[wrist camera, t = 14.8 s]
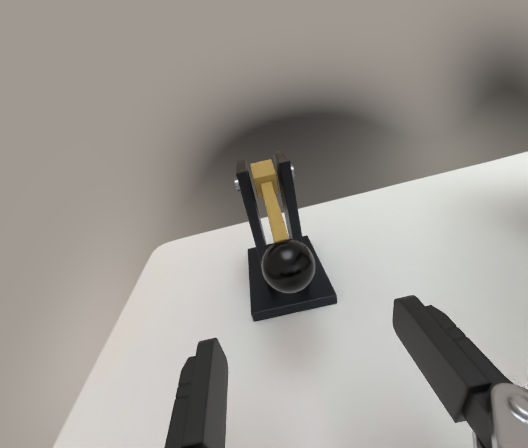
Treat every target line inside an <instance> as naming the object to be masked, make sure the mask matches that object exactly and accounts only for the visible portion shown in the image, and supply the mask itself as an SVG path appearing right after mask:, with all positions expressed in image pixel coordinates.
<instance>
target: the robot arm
mask: <svg viewBox="0 0 528 448" xmlns="http://www.w3.org/2000/svg"><path fill="white" fill-rule="evenodd" d="M393 326H394V329H395V332H396V334H397V336H398V337H399V339H400V340H401V342H402V343H403V345H404V346H405V348H406V349H407V351H408V352H409V354H410V355H411V357H412V358H413V360H414V361H415V363H416V364H417V366H418V367H419V369H420V370H421V372H422V373H423V375H424V376H425V378H426V379H427V381H428V383H429V384H430V386H431V387H432V389H433V390H434V392H435V393H436V395H437V396H438V398H439V399H440V401H441V402H442V404H443V405H444V407H445V408H446V410H447V411H448V413H449V414H450V416H451V417H452V419H453V420H454V422H455V423H457V422H462V421H467V422H468V424H469V425H470V427H471V428H472V430H473V447H474V448H528V390H527V389H525V388H523V387H520V386H518V385H515V384H513V383H512V382H511V381H509V380H508V379H507V378H506V377H505V376H504V375H503V374H502V373H501V372H500V371H499V370H498V369H497V368H496V367H495V366H494V365H493V363H492V362H491V361H490V360H489V359H488V358H487V357H486V356H485V355H484V354H483V353H482V352H481V351H480V350H479V349H478V348H477V347H476V346H475V345H474V344H473V342H472V341H471V340H470V339H469V338H467V337H466V336H465V334H464V333H463V332H462V331H461V330H460V329H459V328H457V327H456V325H455V324H454V323H453V321H452V320H451V319H450V318H449V317H448V316H447V315H446V314H445V313H443V312H441V311H440V310H438V309H437V308H435V307H433V306H432V305H429V306H424V305H423V304H422V303H421V301H420V300H419V299H418V298H417V297H416V296H414V295H411V296H406V297H402V298H397V299H395V300H394V309H393ZM178 385H179V387H178V388H177V393H176V400H175V402H174V407H173V411H172V416H171V421H170V425H169V430H168V435H167V439H166V444H165V448H225V434H226V410H227V387H228V363H227V359H226V356H225V354H224V352H223V350H222V348H221V345H220V343H219V341H218V339H217V338H212V339H208V340H203V341H200V342H199V343H198V346H197V352H196V356H193V357H189V358H188V359H187V361H186V363H185V365H184V367H183V368H182V370H181V374H180V379H179V384H178Z"/></svg>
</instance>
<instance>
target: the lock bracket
mask: <svg viewBox="0 0 528 448" xmlns="http://www.w3.org/2000/svg"><path fill="white" fill-rule="evenodd" d="M273 155H274V160H275V165H276V171H277V176H278V181H279V187H280V191H281V197H282V202H283V208H284V213H285V218H286V223H287V229H288V234H289V239H293V240H297V241H299V242H301V243H303V244H304V245H305V246H306V247H308V249H309V250H310V251H311V253H312V255H313V257H314V260H315V273H314V276H313V278H312V280H311V282H310V283H309V284H308V285H307V286H306V287H305V288H304V289H302V290H301V291H298V292H295V293H283V292H279V291H277V290H275V289H274V288H272V287H271V286H270V285H269V284H268V283H267V281H266V280H265V278H264V276H263V273H262V259H263V255H264V253H265V252H266V250H267V249H268V248H269V247H270V246H271V245H272V244H273V243H272V244H268V245H267V244H266V240H265V236H264V232H263V228H262V224H261V220H260V216H259V212H258V208H257V204H256V200H255V196H254V192H253V189H252V184H251V180H250V176H249V172H248V168H247V164H246V160H242V161H238V162H237V163H236V176H237V178H235V179H234V181H235V186H236V190H237V191H238V192H239V191H241V194H242V197H243V201H244V205H245V208H246V212H247V216H248V219H249V223H250V227H251V230H252V234H253V237H254V241H255V245H256V247H255V248H251V249H248V263H249V281H250V299H251V315H252V317H253V320H254V321H258V320H263V319H267V318H272V317H276V316H281V315H285V314H289V313H294V312H298V311H303V310H307V309H312V308H316V307H321V306H325V305H330V304H334V303H337V296H336V293H335V291H334V289H333V287H332V285H331V283H330V281H329V279H328V277H327V275H326V273H325V271H324V269H323V267H322V265H321V262H320V260H319V258H318V256H317V254H316V252H315V250H314V248H313V246H312V244H311V242H310V240H309V238H308V236H303V237H302V233H301V227H300V221H299V214H298V208H297V202H296V195H295V189H294V183H293V179H295V171H294V167H293V165H291V164H290V160H289V159H288V158H287V156H286V155H285V154H284V153H283V152H282V151H280V152H275V153H274V154H273Z"/></svg>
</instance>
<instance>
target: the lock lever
mask: <svg viewBox="0 0 528 448" xmlns="http://www.w3.org/2000/svg"><path fill="white" fill-rule="evenodd" d="M251 170H252V175H253V180H254V184H255V188H256V192H257V196H258V198H261V197H264V201H265V206H266V210H267V214H268V218H269V223H270V227H271V231H272V235H273V240H274V243H273V244H272V245H271V246H270V247H269V248H268V249H267V250H266V252H265V253H264V255H263V259H262V273H263V276H264V278H265V280H266V281H267V283H268V284H269V285H270V286H271V287H272V288H274V289H275V290H277V291H279V292H283V293H295V292H298V291H301V290H302V289H304V288H305V287H306V286H307V285H308V284H309V283H310V282H311V280H312V278H313V276H314V273H315V260H314V257H313V255H312V253H311V251H310V250H309V249H308V247H306V246H305V245H304V244H303V243H301V242H299V241H297V240H293V239H289V237H288V234H287V231H286V227H285V224H284V221H283V217H282V214H281V211H280V207H279V204H278V201H277V198H276V194H277V193H279V188H278V182H277V176H276V172H275V169H274V166H273V163H272V160H271V159H270V160H266V161H261V162H257V163H253V164H251Z"/></svg>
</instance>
